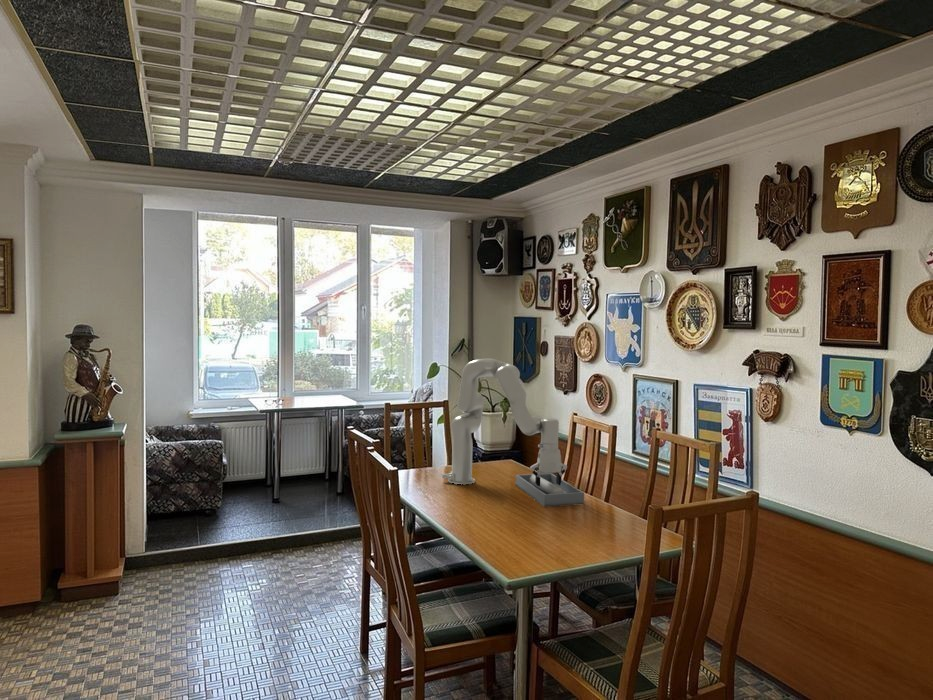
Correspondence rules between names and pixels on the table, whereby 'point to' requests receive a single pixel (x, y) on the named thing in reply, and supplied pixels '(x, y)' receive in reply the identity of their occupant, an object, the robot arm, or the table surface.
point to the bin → (545, 499)
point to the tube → (546, 486)
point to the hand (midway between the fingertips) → (548, 484)
